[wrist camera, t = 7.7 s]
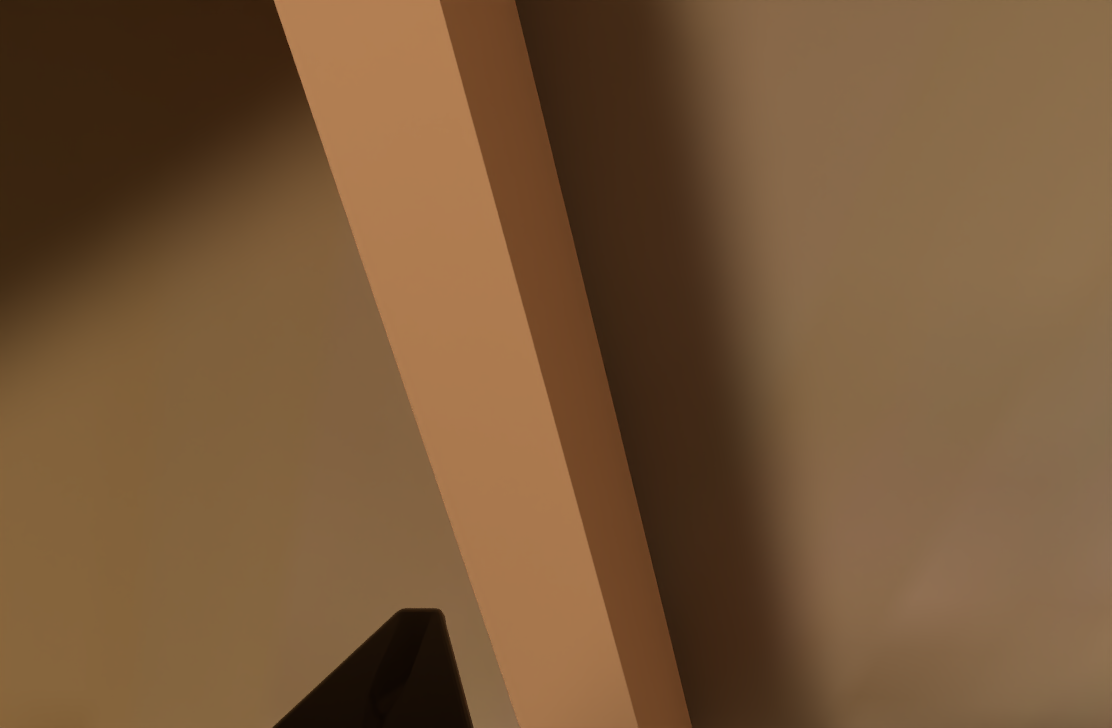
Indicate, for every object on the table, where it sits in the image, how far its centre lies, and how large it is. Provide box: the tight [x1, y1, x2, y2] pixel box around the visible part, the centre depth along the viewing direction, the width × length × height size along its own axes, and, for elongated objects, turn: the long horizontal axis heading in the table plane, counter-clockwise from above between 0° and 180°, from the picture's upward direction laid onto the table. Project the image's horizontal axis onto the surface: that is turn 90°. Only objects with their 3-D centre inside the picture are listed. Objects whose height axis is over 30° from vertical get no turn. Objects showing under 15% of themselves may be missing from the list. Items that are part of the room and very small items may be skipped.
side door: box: [274, 0, 692, 728], centre depth 7 cm, size 14×2×4 cm, turn 14°
